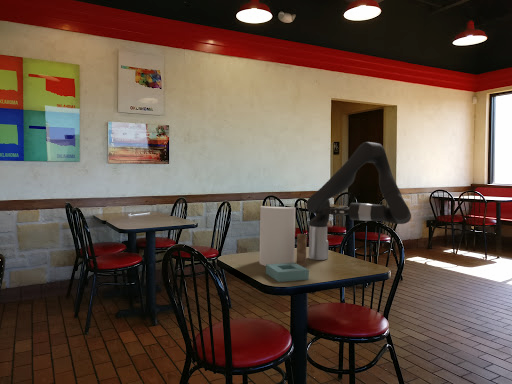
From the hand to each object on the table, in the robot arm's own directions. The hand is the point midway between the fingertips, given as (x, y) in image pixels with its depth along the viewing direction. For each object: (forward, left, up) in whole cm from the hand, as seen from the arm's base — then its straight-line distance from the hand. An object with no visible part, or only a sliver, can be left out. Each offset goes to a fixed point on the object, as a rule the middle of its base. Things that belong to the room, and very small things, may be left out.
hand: (325, 209), depth 180 cm
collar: (+20, +3, -28) cm, 35 cm away
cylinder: (+14, -21, -29) cm, 38 cm away
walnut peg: (+7, -8, -28) cm, 31 cm away
